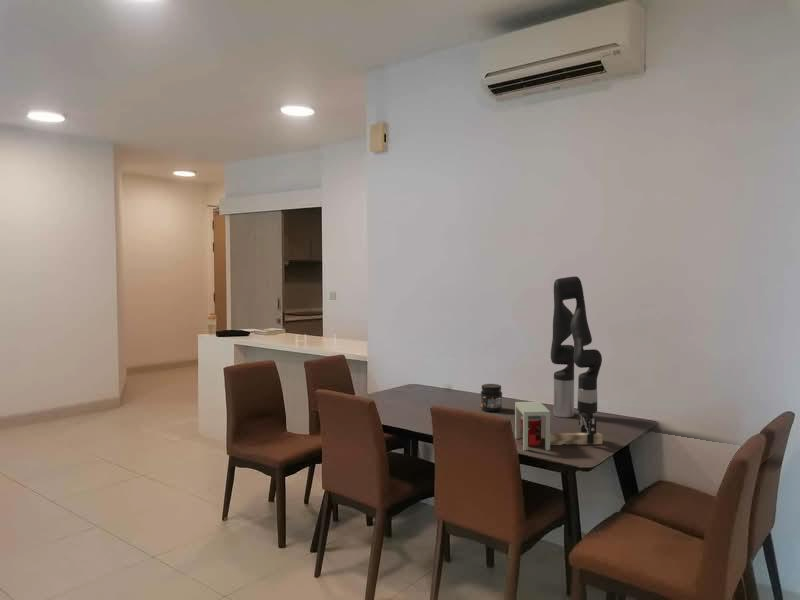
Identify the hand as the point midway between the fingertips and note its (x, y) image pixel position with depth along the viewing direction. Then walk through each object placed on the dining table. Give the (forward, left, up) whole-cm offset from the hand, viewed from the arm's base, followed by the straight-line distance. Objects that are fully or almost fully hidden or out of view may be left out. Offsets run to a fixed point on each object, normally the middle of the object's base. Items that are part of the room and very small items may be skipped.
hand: (587, 440), depth 230 cm
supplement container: (-54, -29, -1) cm, 61 cm away
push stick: (0, -5, -1) cm, 6 cm away
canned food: (0, -22, -1) cm, 22 cm away
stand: (0, -22, -1) cm, 22 cm away
